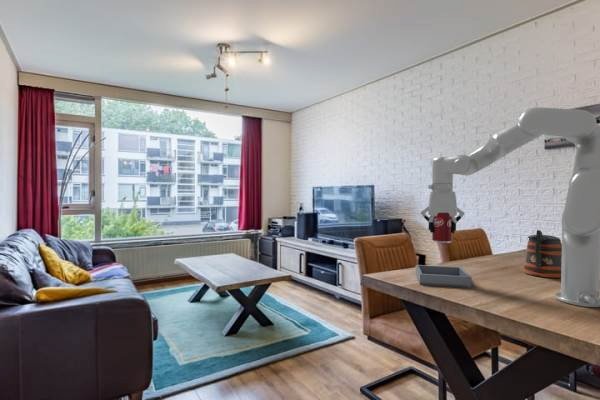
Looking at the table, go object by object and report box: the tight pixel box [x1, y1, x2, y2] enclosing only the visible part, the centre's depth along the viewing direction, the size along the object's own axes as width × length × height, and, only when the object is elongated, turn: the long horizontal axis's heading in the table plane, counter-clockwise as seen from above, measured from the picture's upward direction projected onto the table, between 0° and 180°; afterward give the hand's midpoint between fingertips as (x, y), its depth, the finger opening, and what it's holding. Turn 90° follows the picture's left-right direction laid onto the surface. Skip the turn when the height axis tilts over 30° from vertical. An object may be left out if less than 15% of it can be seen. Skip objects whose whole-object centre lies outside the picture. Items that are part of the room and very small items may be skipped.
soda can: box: [431, 212, 453, 244], centre depth 134 cm, size 7×7×12 cm
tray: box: [415, 264, 473, 289], centre depth 134 cm, size 18×18×4 cm
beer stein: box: [523, 229, 562, 279], centre depth 144 cm, size 19×15×20 cm
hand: (442, 232), depth 134 cm, fingers closed on soda can, 7 cm apart
